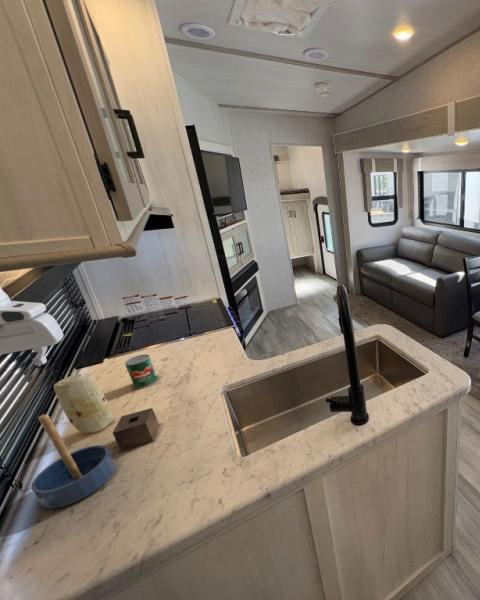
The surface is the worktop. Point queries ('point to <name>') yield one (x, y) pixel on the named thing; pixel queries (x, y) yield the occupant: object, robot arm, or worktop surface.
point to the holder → (136, 429)
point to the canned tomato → (141, 371)
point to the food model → (84, 403)
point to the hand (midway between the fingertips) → (14, 369)
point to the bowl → (60, 484)
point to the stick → (60, 446)
